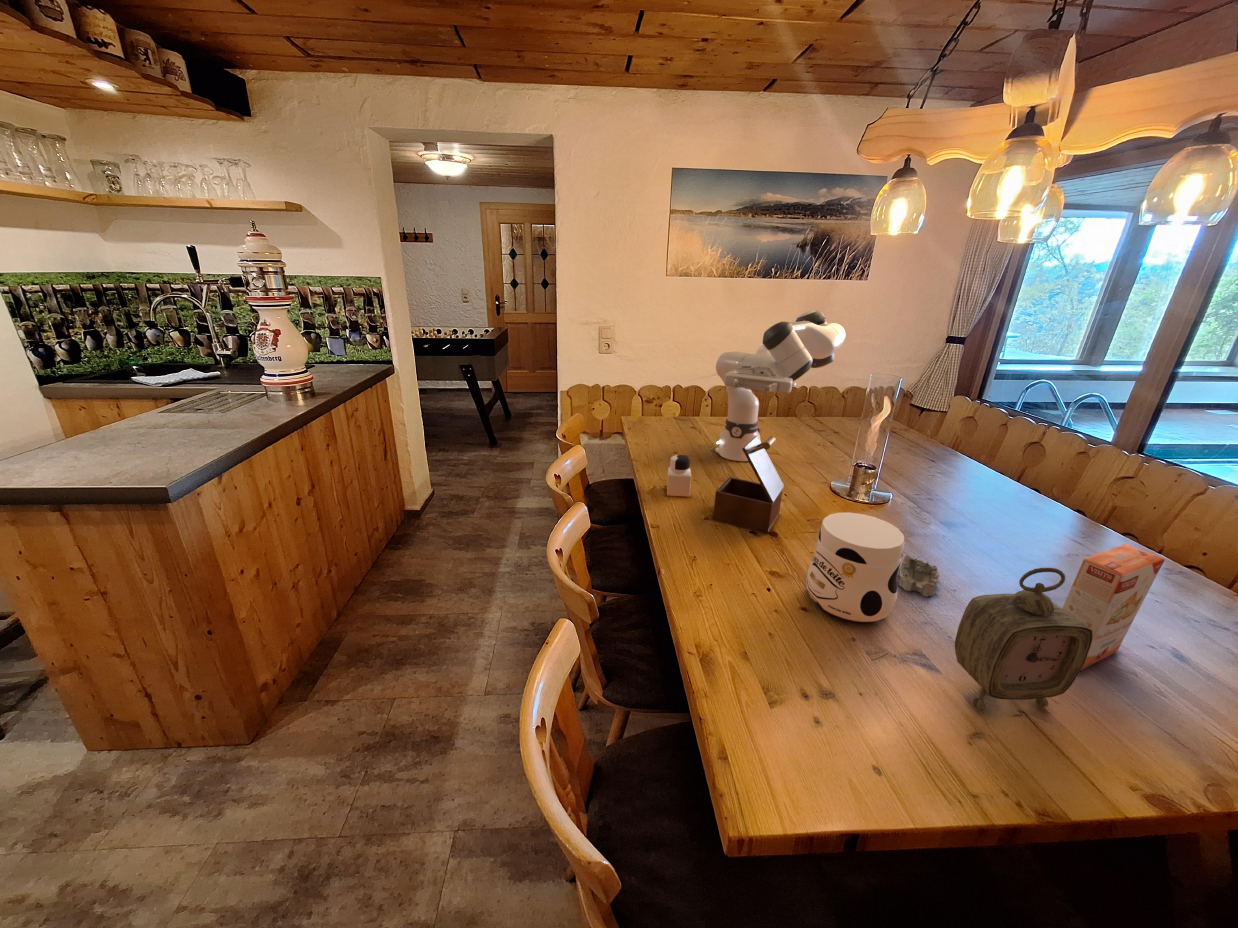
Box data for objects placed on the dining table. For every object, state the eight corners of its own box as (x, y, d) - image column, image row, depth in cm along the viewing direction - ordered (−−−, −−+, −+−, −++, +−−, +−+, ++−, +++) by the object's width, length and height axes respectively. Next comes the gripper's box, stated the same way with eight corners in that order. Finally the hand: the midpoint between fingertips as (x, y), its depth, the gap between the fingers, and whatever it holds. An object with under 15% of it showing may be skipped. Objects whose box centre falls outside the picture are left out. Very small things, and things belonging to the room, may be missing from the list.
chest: (712, 519, 140) (715, 491, 136) (727, 503, 150) (729, 476, 147) (767, 533, 132) (771, 504, 129) (778, 515, 143) (782, 488, 139)
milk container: (789, 604, 104) (802, 529, 98) (821, 571, 116) (835, 502, 109) (876, 643, 93) (897, 562, 87) (901, 602, 105) (921, 529, 99)
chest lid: (741, 448, 129) (762, 439, 125) (755, 436, 139) (774, 427, 135) (770, 503, 129) (791, 496, 126) (781, 487, 139) (801, 479, 136)
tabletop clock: (974, 717, 78) (1023, 585, 69) (937, 673, 86) (976, 551, 77) (1060, 714, 79) (1120, 583, 70) (1015, 671, 87) (1063, 550, 78)
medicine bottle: (688, 487, 160) (691, 453, 156) (689, 497, 153) (692, 461, 149) (667, 486, 161) (669, 452, 156) (666, 495, 154) (669, 460, 150)
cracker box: (1079, 675, 86) (1125, 575, 79) (1040, 652, 92) (1080, 556, 84) (1120, 653, 92) (1168, 557, 84) (1082, 633, 97) (1123, 541, 89)
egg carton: (933, 600, 106) (938, 584, 105) (894, 587, 110) (898, 572, 109) (937, 577, 114) (942, 562, 113) (901, 566, 118) (905, 551, 117)
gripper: (796, 393, 151) (785, 402, 140) (732, 385, 161) (717, 392, 149) (799, 372, 149) (789, 380, 138) (734, 365, 158) (719, 372, 147)
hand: (751, 386), depth 144 cm, fingers open, 8 cm apart
